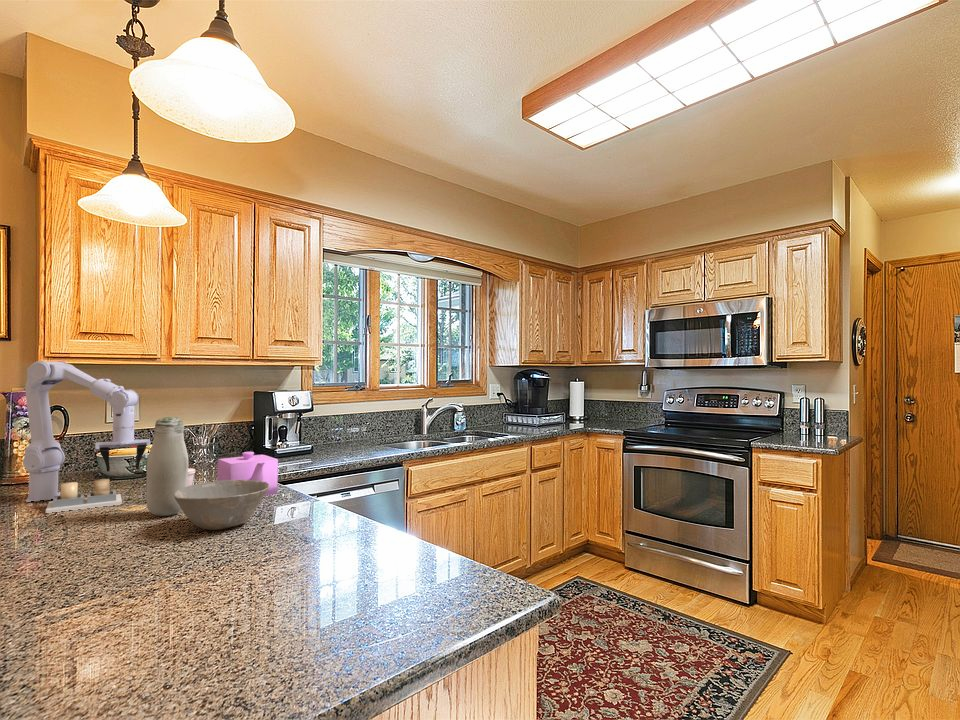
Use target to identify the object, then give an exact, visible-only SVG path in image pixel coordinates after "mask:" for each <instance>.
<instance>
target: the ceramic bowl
mask: <svg viewBox="0 0 960 720" xmlns="http://www.w3.org/2000/svg"><path fill="white" fill-rule="evenodd" d="M268 489H269V484H268V483H267V482H262V481H256V480H249V481H248V480H224V481H217V480H216V481H206V482H201V483H195V484H193V485H190V486H187V487H184V488H181V489H179V490H177V491H176V492H175V493H174V498H175V500H176V501H177V503H178V504H179V506H180V508H181V511H182V513H183V515H184V516H185V517H186V518H187V519H188V520H189V521H190V522H191V523H193V524H194V525H195V526H196V527H198V528H201V529H203V530H206V531H207V530H208V531H219V530H224V529H226V530H227V529H229V528H233V527H237V526H241V525H243V524H244V523H245V522H247V521H249V519H251V517H252V516H253V514H254V512H255V511H256V509H257V508H258V506H259V505H260V502H262V500H263V498H264V497H265V496H266V495H265V493H266V492H267V490H268Z"/></svg>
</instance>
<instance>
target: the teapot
mask: <svg viewBox="0 0 960 720" xmlns="http://www.w3.org/2000/svg"><path fill="white" fill-rule="evenodd" d="M241 454H242V456H235V457H225V458H218V459H217V480H216V481H224V480H248V481H249V480H256V481H262V482H267V483H268V484H269V489H268V490H267V492H266V493H265V495H264V496H268V495H276V494H278V484H279V483H278V482H279V481H278V480H279V479H278V478H279V477H278V475H279V473H278V472H279V459H278V458H275V457H272V456H269V455H266V454H255V452H254V451H244V452H241Z"/></svg>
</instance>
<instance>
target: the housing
mask: <svg viewBox="0 0 960 720" xmlns="http://www.w3.org/2000/svg"><path fill="white" fill-rule="evenodd" d="M78 486H79V483H78V482H77V481H71V482H70V481H68V482H64V483H61V484H60V496H54V499H53V500H52V501H51V500H50V501H48V504H47V506H46V509H45V514H46V513H49V514H53V513H52V512H57V513H62V512H61V511H65V512H70V511H69V510H73V511H79V510H78V509H82V510H88V509H87V508H90V509H96V508H95V507H98V508H104V507H103V506H107V507H113V505H115V506H121V505H120V504H122V505H123V501H122V500H123V499H122V496H121V495H122V494H121V493H118V494H117V491H116V489H110V494H107V495H98V496H94V491H90V492H87V494H86V495H87V497H85V493H84V492H81V493H78V488H79V487H78Z"/></svg>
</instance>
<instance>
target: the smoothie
mask: <svg viewBox="0 0 960 720" xmlns="http://www.w3.org/2000/svg"><path fill="white" fill-rule="evenodd" d="M195 473H196V469H195V468H193V467H192V468H190V467H188V477H187V486H190V485H194V478H195Z"/></svg>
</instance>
